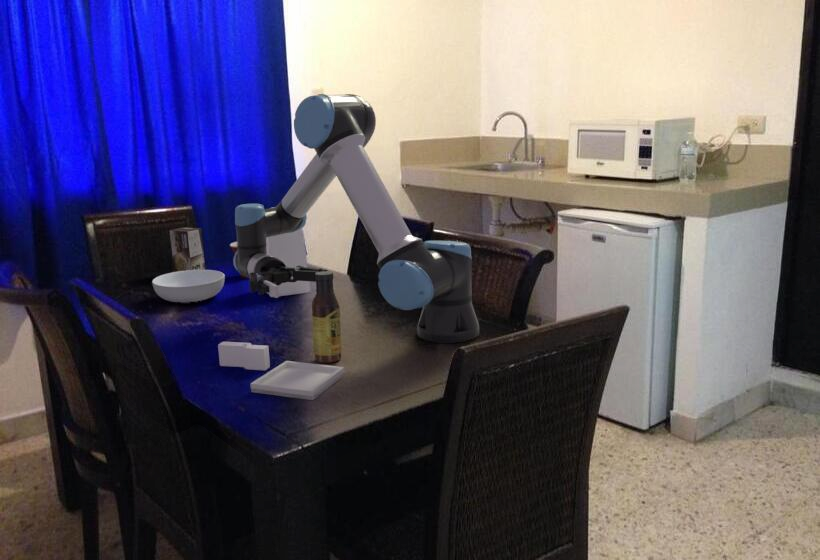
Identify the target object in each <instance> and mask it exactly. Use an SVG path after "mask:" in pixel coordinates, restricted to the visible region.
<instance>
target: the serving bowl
mask: <svg viewBox="0 0 820 560" xmlns="http://www.w3.org/2000/svg"><path fill="white" fill-rule="evenodd" d="M225 276H226V275H225V274H224V273H223V272H221V271H219V270H213V269H205V270H187V271H178V272H174V271H172V272H169V273H164V274H160V275H158V276H156V277H155V278H153V279H152V281H151V285H152V287H153V291H155V293H156V294H157V295H158V296H159V297H160V298H161V299H163V300H165V301H167V302H172V303H178V302H180V303H179V304H191V303H190V302H195V303H199V302H198V301H200V302H203V301H206V300H208V299H211V298H213V297H214V296H217V295H218V293H220V292H221V291H222V289H223V288H224V284H225V279H226V277H225ZM202 300H203V301H202Z"/></svg>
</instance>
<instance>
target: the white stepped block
mask: <svg viewBox="0 0 820 560" xmlns="http://www.w3.org/2000/svg"><path fill="white" fill-rule="evenodd" d="M217 348H218V349H217V350H218V359H219V360H218V361H219V366H220V367H239V368H244V370H251V371H253V370H255V371H267V370H268V369H269V368H271V361H270V352H269V351H270V349H269V345H261V344H259V345H258V344H252V343H251V342H240V341H239V342H238V341H236V342H235V341H222V342H220V343H219V344H218V345H217Z"/></svg>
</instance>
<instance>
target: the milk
mask: <svg viewBox="0 0 820 560" xmlns="http://www.w3.org/2000/svg"><path fill="white" fill-rule="evenodd" d="M274 207H275V206H274ZM274 207H271V208H274ZM305 241H306V240H305V234H304V230H303V228H302V229H300V230H297V231H295V232H292V233H285V234H280V235H276V236H271V237H267V238H266V250H267V254H268V255H270V256H273V257H275V258H277V259H280V260H281V261H282V262H283V263H284V264H285V265H286V267H288V268H297V266H303V267H308V260H307V259H308V258H307V250H306V243H305ZM291 279H293V276H292V278H291ZM278 292H279V297H282V296H291V295H300V294H308V293H309V292H310V293H311V285H310V281H296V282H286V283H282V284H281V285H279V286H278ZM269 297H270V298H274V297H273V296H271V295H269Z"/></svg>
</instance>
